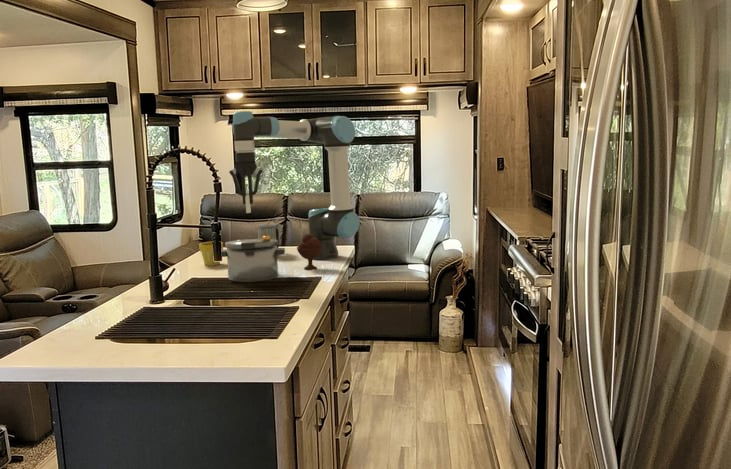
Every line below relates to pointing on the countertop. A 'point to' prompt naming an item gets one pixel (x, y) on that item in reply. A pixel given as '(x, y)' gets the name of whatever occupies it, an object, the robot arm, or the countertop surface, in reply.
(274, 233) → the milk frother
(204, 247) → the plant pot
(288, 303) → the countertop surface
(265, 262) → the cooker pot
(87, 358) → the countertop surface
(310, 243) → the ice cream bowl
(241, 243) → the cooker lid
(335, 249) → the robot arm
